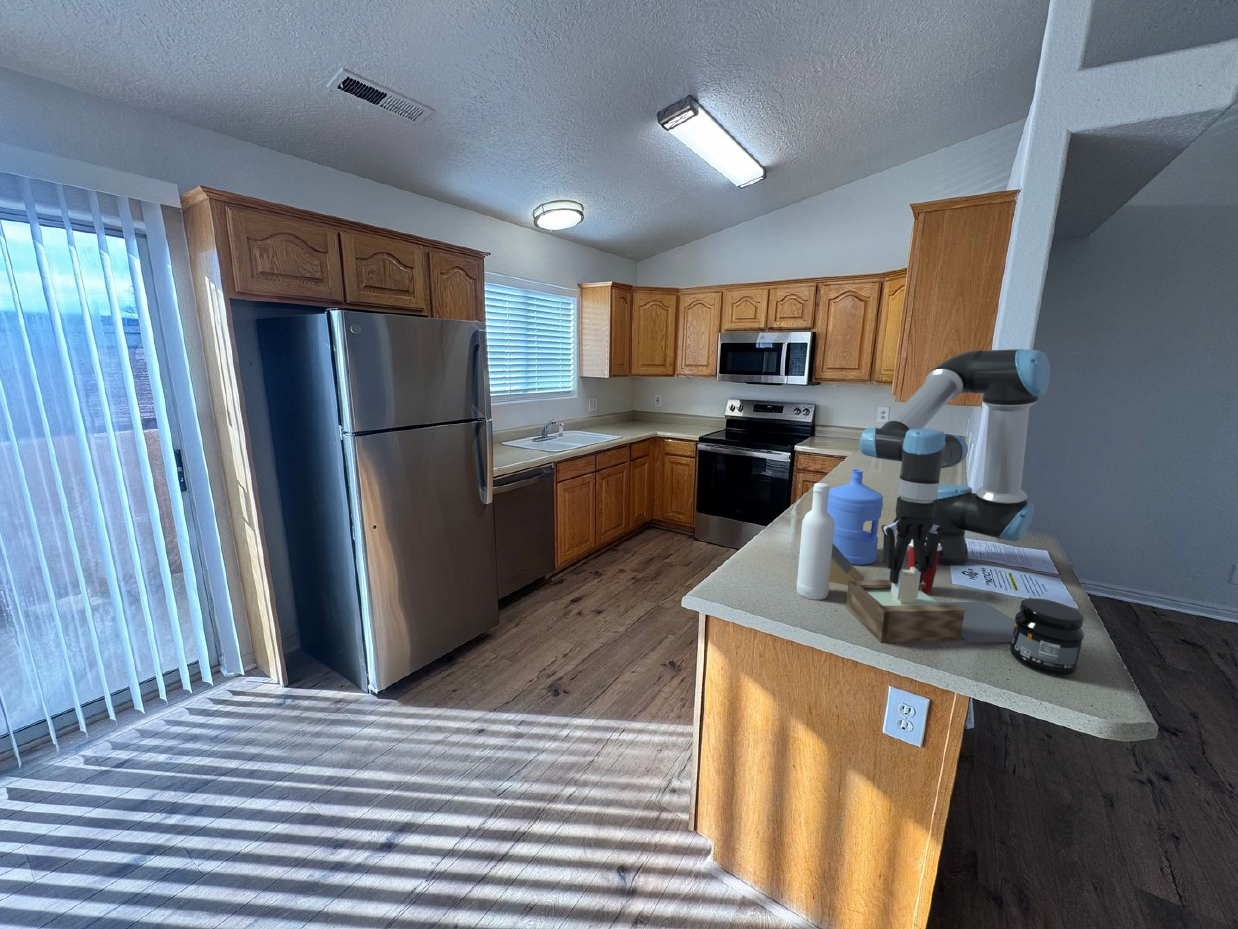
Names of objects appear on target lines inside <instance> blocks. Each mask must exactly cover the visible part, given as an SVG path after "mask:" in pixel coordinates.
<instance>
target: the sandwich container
mask: <svg viewBox="0 0 1238 929" xmlns="http://www.w3.org/2000/svg"><path fill="white" fill-rule="evenodd" d="M860 580H864V577H863V575H862V574H861V573H860V572H859V570H857V569H856V568H855V566H854V564H851V563H850V562H849V561H848V560H847V559H846V558H845V556H844V555H843V554H842V553H841V552H840V551H839V550H838V548H837V547H836V546H835V545H834V544H833V546H832V556H831V566H830V576H829V583H832V584H839V585H844V586H848V582H849V581H860Z"/></svg>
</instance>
